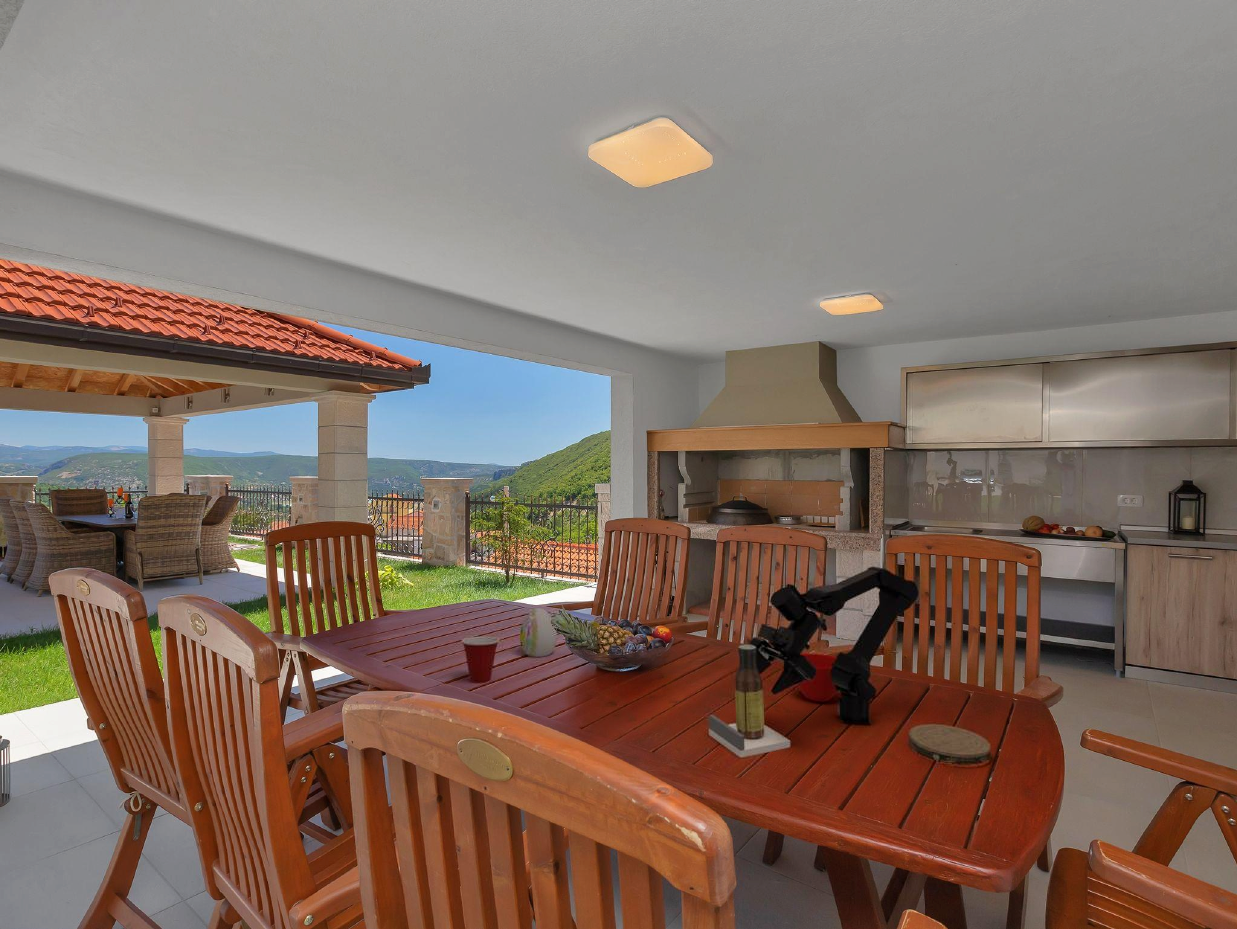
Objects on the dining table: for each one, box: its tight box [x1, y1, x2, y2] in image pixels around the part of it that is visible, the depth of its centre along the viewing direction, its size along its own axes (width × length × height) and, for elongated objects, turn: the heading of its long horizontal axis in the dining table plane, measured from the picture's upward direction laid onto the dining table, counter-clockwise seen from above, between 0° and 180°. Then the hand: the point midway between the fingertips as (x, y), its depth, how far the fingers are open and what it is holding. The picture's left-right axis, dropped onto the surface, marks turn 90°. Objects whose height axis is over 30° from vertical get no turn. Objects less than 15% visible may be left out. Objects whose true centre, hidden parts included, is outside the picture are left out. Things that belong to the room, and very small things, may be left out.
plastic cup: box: [461, 636, 500, 684], centre depth 190 cm, size 11×11×12 cm
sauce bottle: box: [734, 644, 765, 739], centre depth 148 cm, size 6×6×20 cm
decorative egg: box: [519, 607, 558, 658], centre depth 216 cm, size 12×12×15 cm
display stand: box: [708, 714, 791, 758], centre depth 148 cm, size 13×13×4 cm
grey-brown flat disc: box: [908, 723, 991, 765], centre depth 142 cm, size 16×16×3 cm
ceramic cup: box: [796, 653, 838, 703], centre depth 175 cm, size 13×17×10 cm
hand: (760, 686), depth 149 cm, fingers open, 9 cm apart
